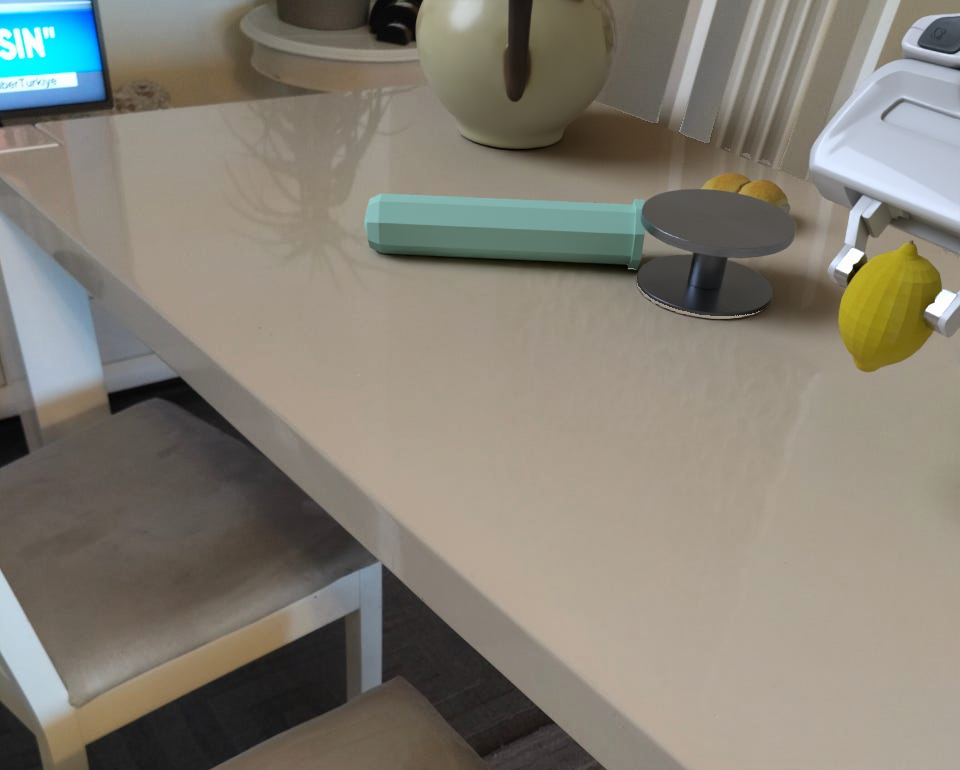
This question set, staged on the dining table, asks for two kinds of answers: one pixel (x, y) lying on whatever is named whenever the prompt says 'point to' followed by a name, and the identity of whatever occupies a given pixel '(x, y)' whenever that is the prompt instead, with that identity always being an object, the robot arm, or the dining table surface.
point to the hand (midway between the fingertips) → (884, 303)
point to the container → (506, 228)
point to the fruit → (888, 308)
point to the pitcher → (516, 64)
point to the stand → (712, 250)
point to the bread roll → (750, 188)
